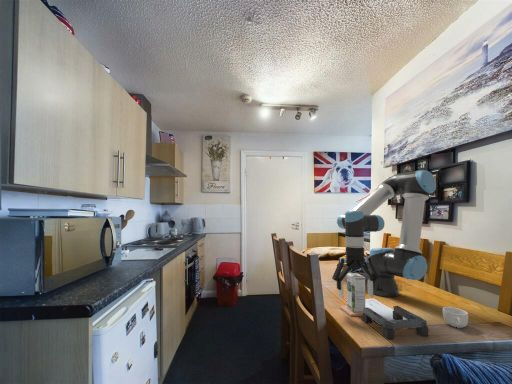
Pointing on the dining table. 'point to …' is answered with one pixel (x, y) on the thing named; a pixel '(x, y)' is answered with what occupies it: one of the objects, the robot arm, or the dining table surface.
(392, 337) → the grey stand frame
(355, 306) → the syrup box
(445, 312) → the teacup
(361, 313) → the terracotta tile
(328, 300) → the dining table surface
